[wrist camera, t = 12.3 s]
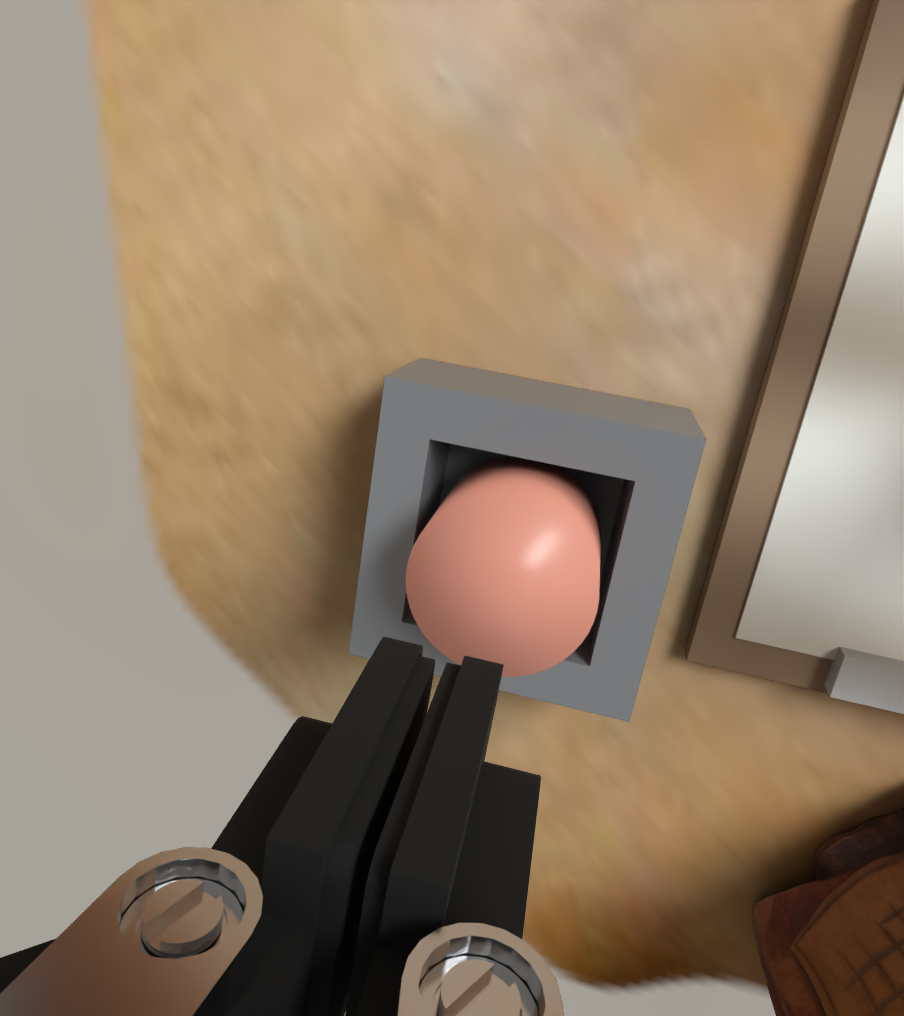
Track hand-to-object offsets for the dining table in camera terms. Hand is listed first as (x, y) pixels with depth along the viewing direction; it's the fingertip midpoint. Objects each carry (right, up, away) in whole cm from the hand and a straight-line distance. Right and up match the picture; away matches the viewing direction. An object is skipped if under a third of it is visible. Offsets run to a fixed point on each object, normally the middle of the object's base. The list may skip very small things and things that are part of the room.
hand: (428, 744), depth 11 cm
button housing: (+2, +3, +11) cm, 11 cm away
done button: (+2, +3, +9) cm, 9 cm away
